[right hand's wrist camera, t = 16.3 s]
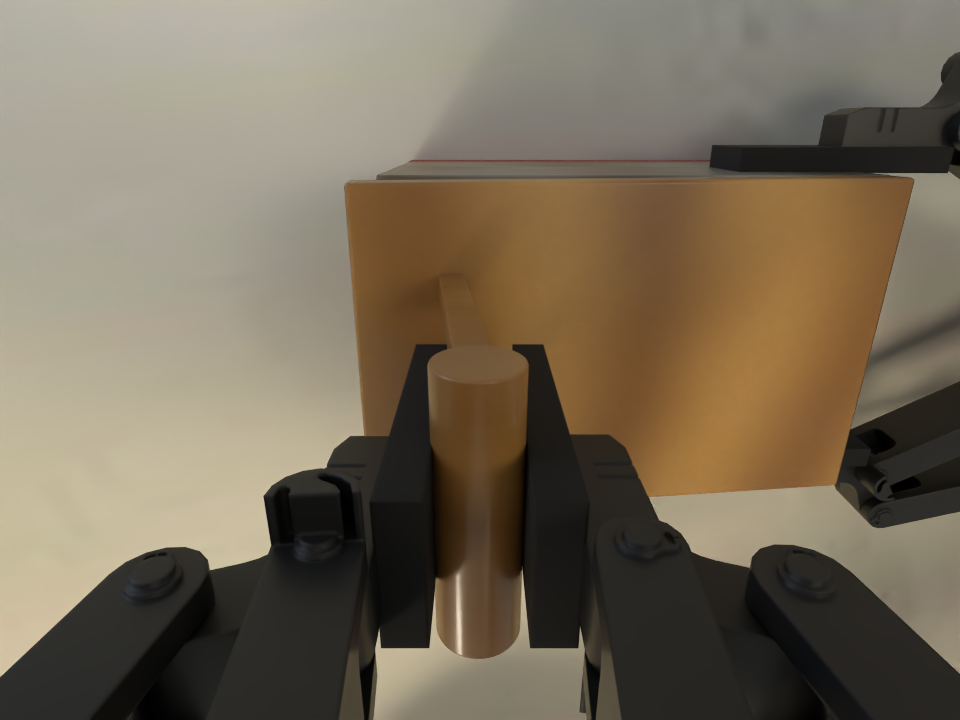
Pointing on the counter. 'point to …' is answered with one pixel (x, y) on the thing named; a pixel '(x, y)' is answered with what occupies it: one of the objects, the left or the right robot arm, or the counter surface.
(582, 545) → the right robot arm
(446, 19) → the counter surface
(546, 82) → the counter surface
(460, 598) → the lid
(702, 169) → the chest
